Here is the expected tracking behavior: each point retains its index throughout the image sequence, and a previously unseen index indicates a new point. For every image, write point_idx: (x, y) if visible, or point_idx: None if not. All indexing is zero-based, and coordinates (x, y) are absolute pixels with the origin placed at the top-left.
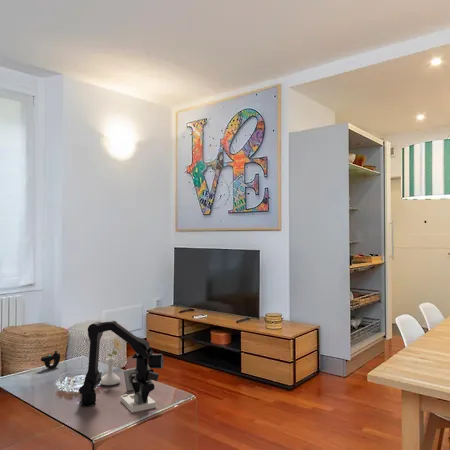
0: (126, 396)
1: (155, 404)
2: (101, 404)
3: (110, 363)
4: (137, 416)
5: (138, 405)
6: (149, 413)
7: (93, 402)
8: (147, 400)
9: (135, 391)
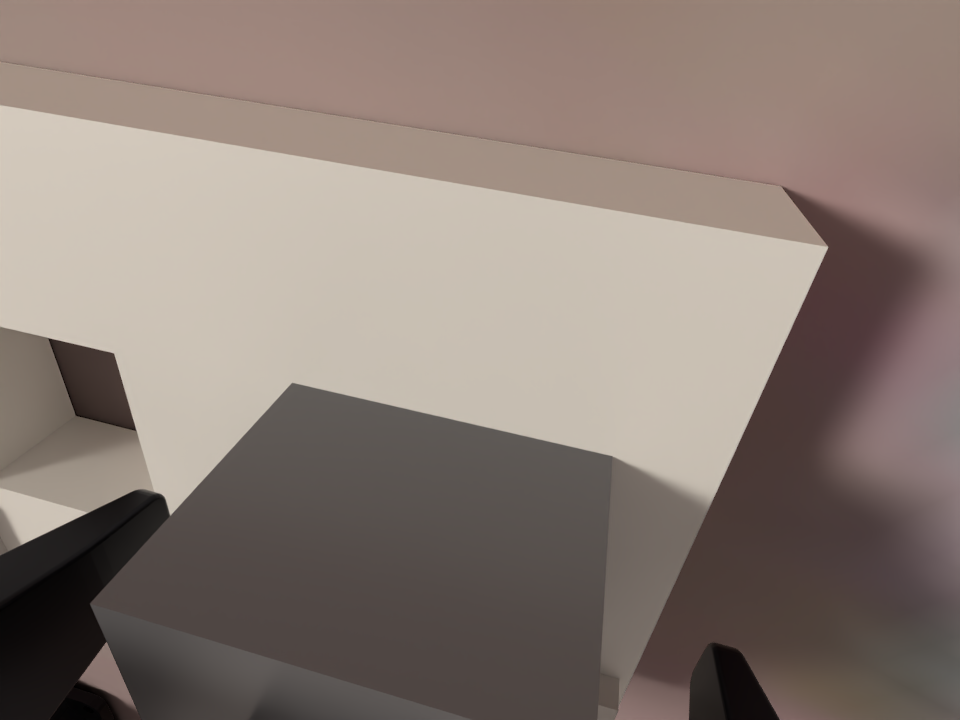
0: (7, 525)
1: (801, 226)
2: (115, 666)
3: None
4: (828, 695)
5: (607, 669)
6: (951, 518)
7: (66, 708)
8: (607, 519)
9: (41, 704)
